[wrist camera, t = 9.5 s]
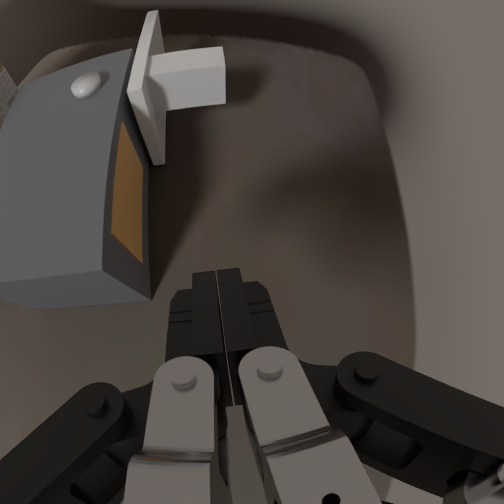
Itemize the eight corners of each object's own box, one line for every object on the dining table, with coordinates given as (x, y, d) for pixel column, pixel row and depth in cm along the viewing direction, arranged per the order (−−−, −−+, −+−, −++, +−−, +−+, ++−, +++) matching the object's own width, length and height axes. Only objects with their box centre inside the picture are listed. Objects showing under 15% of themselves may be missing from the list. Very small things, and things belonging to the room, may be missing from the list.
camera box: (35, 309, 18) (-44, 283, 9) (59, 132, 23) (22, 72, 14) (152, 300, 19) (97, 265, 10) (153, 110, 24) (133, 34, 15)
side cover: (153, 165, 22) (126, 91, 14) (160, 74, 25) (147, 12, 18) (228, 155, 22) (228, 76, 15) (217, 67, 26) (215, 3, 18)
